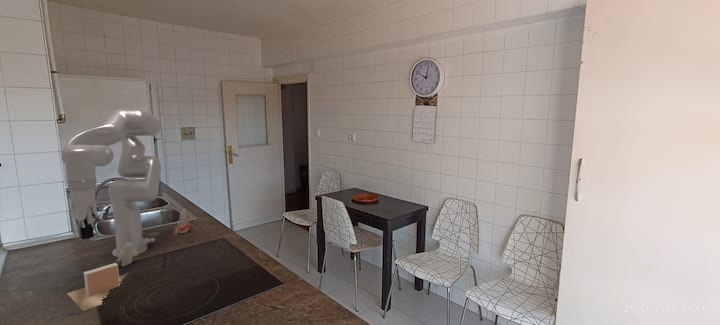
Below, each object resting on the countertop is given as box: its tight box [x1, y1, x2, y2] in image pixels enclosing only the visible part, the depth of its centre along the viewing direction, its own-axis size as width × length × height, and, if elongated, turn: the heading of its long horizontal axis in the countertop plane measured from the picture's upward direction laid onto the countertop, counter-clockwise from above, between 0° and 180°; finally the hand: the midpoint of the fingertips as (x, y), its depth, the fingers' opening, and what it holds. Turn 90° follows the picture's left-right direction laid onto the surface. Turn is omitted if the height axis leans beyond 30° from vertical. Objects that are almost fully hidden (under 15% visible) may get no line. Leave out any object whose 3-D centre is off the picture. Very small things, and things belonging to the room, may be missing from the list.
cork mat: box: [66, 273, 128, 312], centre depth 118 cm, size 18×16×1 cm
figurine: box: [173, 209, 192, 236], centre depth 173 cm, size 9×7×12 cm
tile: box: [83, 262, 120, 297], centre depth 117 cm, size 9×2×8 cm, turn 144°
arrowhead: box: [116, 242, 139, 267], centre depth 136 cm, size 8×3×10 cm, turn 154°
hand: (87, 237), depth 118 cm, fingers closed
